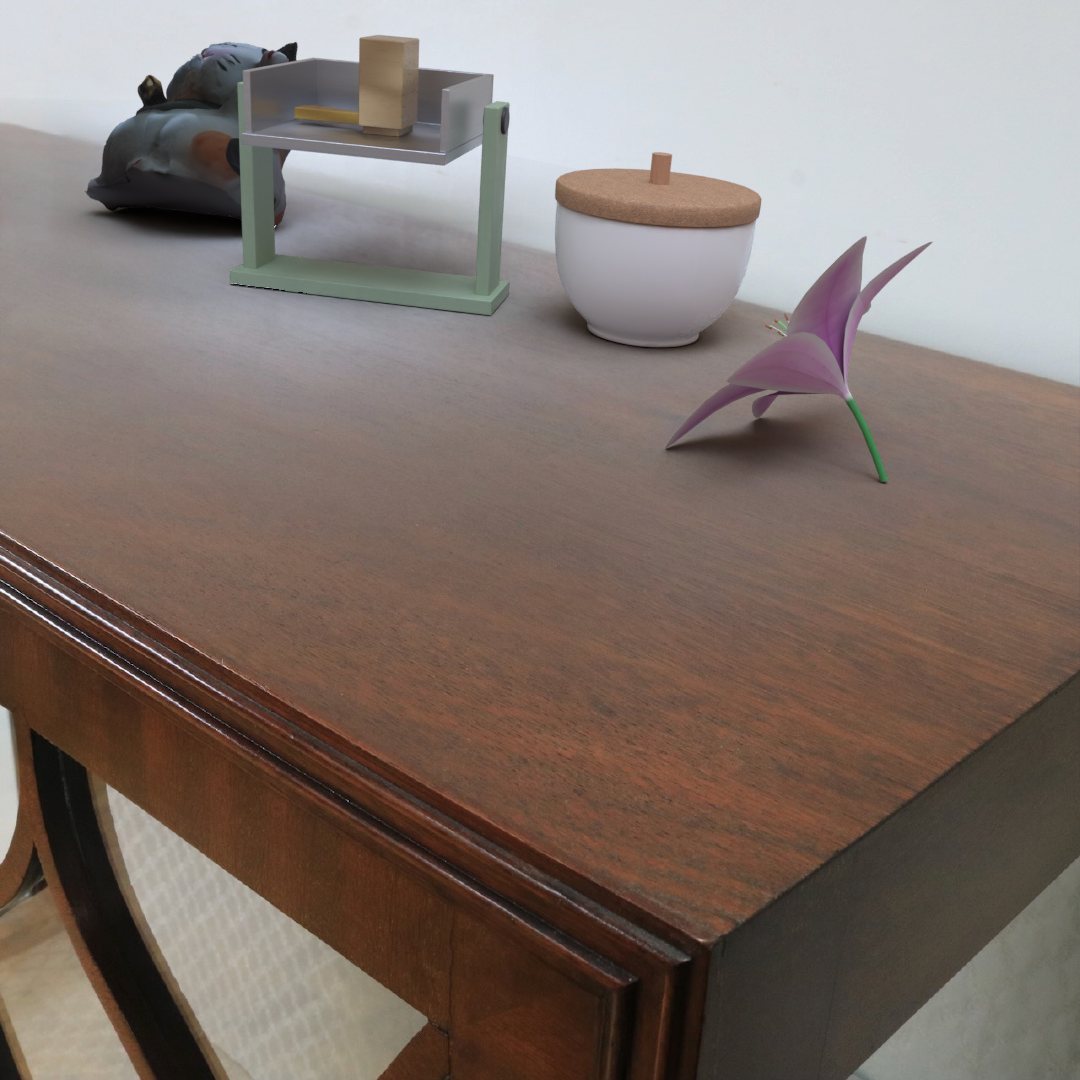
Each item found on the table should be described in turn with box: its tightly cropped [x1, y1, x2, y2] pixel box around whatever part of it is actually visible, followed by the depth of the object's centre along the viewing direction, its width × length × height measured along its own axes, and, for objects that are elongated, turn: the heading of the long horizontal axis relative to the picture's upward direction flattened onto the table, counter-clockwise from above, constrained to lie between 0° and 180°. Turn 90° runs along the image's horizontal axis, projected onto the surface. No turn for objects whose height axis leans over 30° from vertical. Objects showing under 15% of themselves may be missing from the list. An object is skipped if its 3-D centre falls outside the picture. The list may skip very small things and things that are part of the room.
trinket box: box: [554, 151, 762, 348], centre depth 65 cm, size 11×11×9 cm
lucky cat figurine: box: [84, 41, 299, 226], centre depth 83 cm, size 15×12×14 cm
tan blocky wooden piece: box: [294, 34, 420, 137], centre depth 67 cm, size 6×3×5 cm, turn 80°
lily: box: [665, 235, 934, 483], centre depth 50 cm, size 12×12×10 cm
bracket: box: [229, 82, 511, 316], centre depth 69 cm, size 5×15×11 cm, turn 80°
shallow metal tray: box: [242, 57, 495, 167], centre depth 71 cm, size 19×11×4 cm, turn 170°
